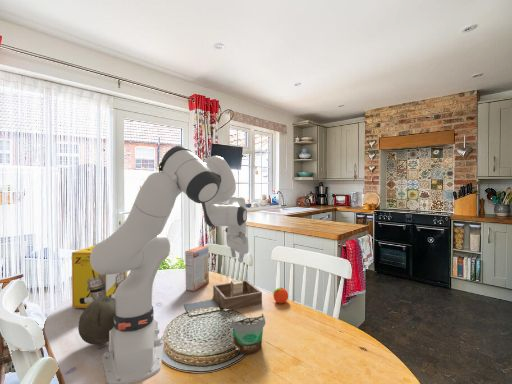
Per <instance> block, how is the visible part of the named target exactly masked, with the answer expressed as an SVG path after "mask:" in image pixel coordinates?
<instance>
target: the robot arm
mask: <svg viewBox="0 0 512 384" xmlns="http://www.w3.org/2000/svg"><path fill="white" fill-rule="evenodd" d="M236 185H237V183H236V180H235V175H234V173H233V171H232V169H231V167H230V165H229V164H228V162H227V161H226V159H224V157H221V156H219V155H212V156H209V157H206V159H204V160H202V159H201V158H200V157H198V156H197V155H196V154H195V153H193V152H192V151H191V150H190V149H188V148H187V147H184V146H182V145H177V146H173V147H171V148H170V149H168V151H166V152H165V154H164V155H163V156H162V158H161V162H160V163H159V164H158V171H157V172H153V173H151V174H149V175H148V176H147V178H146V179H145V181H144V182H143V184H142V185H141V187H140V189H139V191H138V192H137V194H136V197H135V200H134V202H133V204H132V206H131V210H130V212H129V213H128V216H127V217H126V219H125V221H124V222H123V223H122V224H121V226H120V227H118V228H117V229H116V230H115V231H114V232H113V233H112V234H111V235H109V236H108V237H107V238H105V239H103V240H101V241H100V242H98V243H96V244H94V245H95V246H94V245H93V246H94V248H93V249H92V252H91V255H90V263H91V266H92V268H93V269H94V271H95V272H97V273H98V274H100V275H107V274H118V273H122V272H126V271H127V272H129V273H128V274H127V278H126V279H125V280H124V281H122V282H121V283H120V284H119V286H118V287H117V289H116V293H115V307H116V312H115V313H114V327H113V328H112V329H111V330H110V331H109V342H108V348H107V351H106V352H105V353H103V355H102V356H101V362H102V366H103V371H104V375H105V379H106V383H107V384H133V383H136V382H139V381H142V380H146V379H147V378H150V377H151V376H153V375H155V374H157V373H158V372H160V370H161V368H162V367H161V366H162V363H163V362H162V360H163V356H164V355H163V354H164V349H165V342H164V343H163V341H164V340H161V338H160V337H159V334H160V328H159V323H158V320H156V319H154V314H155V312H154V311H155V310H154V306H153V285H154V281H155V278H156V275H157V273H158V270H159V269H160V266H162V263H164V261H165V260H166V259H167V258H168V257H169V255H170V252H171V242H170V240H169V238H168V237H167V236H166V235H165V234H163V233H162V232H163V231H164V228H165V226H166V224H167V222H168V219H169V218H170V216H171V213H172V211H173V209H174V206H175V202H176V200H177V198H178V196H179V195H180V194H181V193H183V194H184V195H186V197H187V198H188V199H190V200H191V201H192V202H194V203H197V204H201V205H202V209H203V215H204V217H203V218H204V223H205V224H206V225H207V226H208V227H209V228H212V227H213V228H214V227H215V228H216V227H225V231H224V232H225V233H226V234H225V235H226V245H227V247H229V248H230V254H231V258H236V257H237V253H238V255H239V256H238V258H237V259H238V262H239V263H243V262H244V257H245V255H248V254H249V240H248V237H247V236H246V234H247V220H248V210H247V207H246V199H245V198H244V197H242V196H235V195H234V194H235V192H236V189H237V186H236ZM227 201H228V204H222V203H225V202H227ZM219 203H221V204H219Z"/></svg>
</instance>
